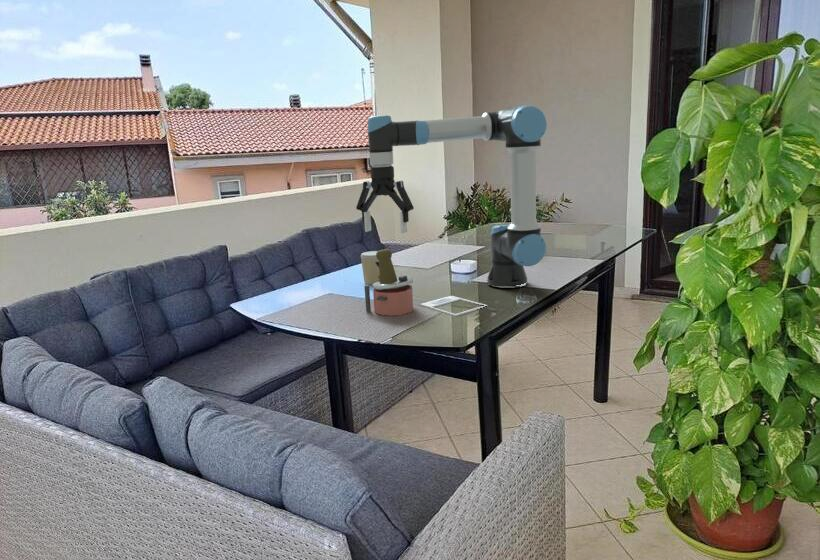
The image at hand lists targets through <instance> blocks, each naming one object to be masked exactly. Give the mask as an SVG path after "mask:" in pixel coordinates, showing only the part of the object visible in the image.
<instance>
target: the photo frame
mask: <svg viewBox="0 0 820 560" xmlns="http://www.w3.org/2000/svg"><path fill="white" fill-rule="evenodd" d="M462 300H463V302H466V301H467V302H466V303H469V302H471V303H470V304H473V303H475V304H474V305H476V304H479V305H478V306H477V307H474V308H471V309H468V310H465V311H461V312H458V313H453V312H451V311H447V310H443V309H439V308H437V307H440V306H445V305H447V304H451V303H455V302H458V301H462ZM480 305H484V306H480ZM419 306H420V307H423V308H426V307H427V309H431V310H433V311H436V312H440V313H443V314H447V315H449V316H453V317H459V316H462V315H465V314H468V313H469V314H470V313H471V312H474V311H478V310H481V309H480V308H482V309H484V308H483V307H485V306H487V307H488V304H485V303H482V302H477V301H473V300H469V299H466V298H462V297H459V296H458V297H457V296H454V295H449V296H445V297H441V298H438V299H437V298H436V299H434V300H430V301H427V302H422V303H419ZM485 308H486V307H485ZM477 309H478V310H477Z"/></svg>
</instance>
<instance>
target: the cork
mask: <svg viewBox="0 0 820 560" xmlns="http://www.w3.org/2000/svg"><path fill="white" fill-rule="evenodd" d="M377 251H378V252H377V253H376V257H377V259H378V260H379V277H380V284H388V283H393V282H396V281H397V274H396V270H395V267H394V265H393V261H392V255H393V254H392V253H393V252H392V250H390V249H388V248H384V249H379V250H377Z"/></svg>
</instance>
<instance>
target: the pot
mask: <svg viewBox="0 0 820 560" xmlns="http://www.w3.org/2000/svg"><path fill="white" fill-rule="evenodd" d="M379 281H380V279H379ZM372 291H373V292H372V295H373V296H372V297H373V311H374V313H375V312H376V313H375V314H377V313H378V314H377V315H379V314H381V315H380V316H384V315H390V316H389V317H392V316H391V315H398V316H402V314H403V315H407V314H406V313H408V314H410V313H411V312H413V311H414V298H413V286H412V285H411V284H409V285H406V286H402V287H398V288H393V289H385V290H376V289H373V288H372ZM370 295H371V294H370V284H366V285H364V297H365V299H364V300H365V311H370V312H371V311H372V309H371V296H370ZM409 312H410V313H409Z"/></svg>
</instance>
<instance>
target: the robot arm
mask: <svg viewBox="0 0 820 560" xmlns="http://www.w3.org/2000/svg"><path fill="white" fill-rule="evenodd" d="M546 130H547V119H546V115H545V114H544V113H543V111H542V110H541V109H540V108H538V107H536V106H535V105H526V104H524V105H519V106H514V107H513V106H511V107H508V108H504V109H501V110H500V109H499V110H496V111H492V112H491V111H490V112H483V114H482V115H481V116H480V115H478V116H465V117H454V118H453V117H452V118H442V119H441V118H440V119H429V120H418V119H417V120H405V121H393V120H392V117H391V115H372V116H369V117H368V119H367V137H368V140H367V141H368V150H369V151H368V152H369V166H371V167H370V178H371V181H369V180H367V181H363V182H362V189H361V193H360V196H359V199H358V201H357V204H356V206H355V207H356V210H357V211H360V212H361V216H362V217H361V218H362V222H364V232H366V233H367V232H371V231H372V221H371V220H372V219H371V210H370V209H369V208H371V206H372V204H373V203H374V202H375V200H376V198H377V197H378V196H379V197H380V196H388V197H389V198H391V199H392V201H393V202H394V203H395V204H396V206H397V207H398V208H399V209H400V211H401V212H400V213H399V220H400V221H399V222H400V225H399V226H400V233H401V234H405V233H407V232H408V226H407V223H408V222H409V212H410V211H413V210H414V209H415V208H414V206H413V203H412V201H411V199H410V197H409V195H408V193H407V191H406V189H405V186H404V181H403V180H398V181H395V167H394V166H393V165H394V149H393V148H394V147H398V146H399V147H401V146H420V145H422V146H423V145H426V144H430V143H442V142H453V141H462V140H463V141H464V140H465V141H466V140H477V139H483V141H485V142H486V141H487V142H488V141H499V142H500V141H502V142H505V149H506V150H507V151H508V152H509V154H510V155H509V156H510V158H509V159H510V166H509V168H510V218H511V219H510V221H511V222H510V223H509V224H500V225H498V224H497V225H494V226H492V227H491V232H490V244H491V245H490V246H491V248H490V249H491V267H490V269H489V273H488V275H487V277H486V279H487V280H486V281H487V283H488V284H490V285H494V286H516V285H521V284H524V283H526V282H527V283H528V276H527V273H526V271H525V267H533V266H536V265H537V264H538V263H540V262H541V261H542V260H543V258H544V257H545V255H546V252H547V244H546V241H545V239H544V238H543V237H542V235H541V229H542V227H541V225H540V224H539V223H537V151H538V150H539V149H540V148H541V142H542V141H541V139H542V138H543V136H544V135H545V134H546ZM371 188H372V190H371V192H370V189H371ZM394 188H396V189H397V191H396V190H395V189H394ZM397 192H398V193H397ZM398 194H399V195H398Z"/></svg>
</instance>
